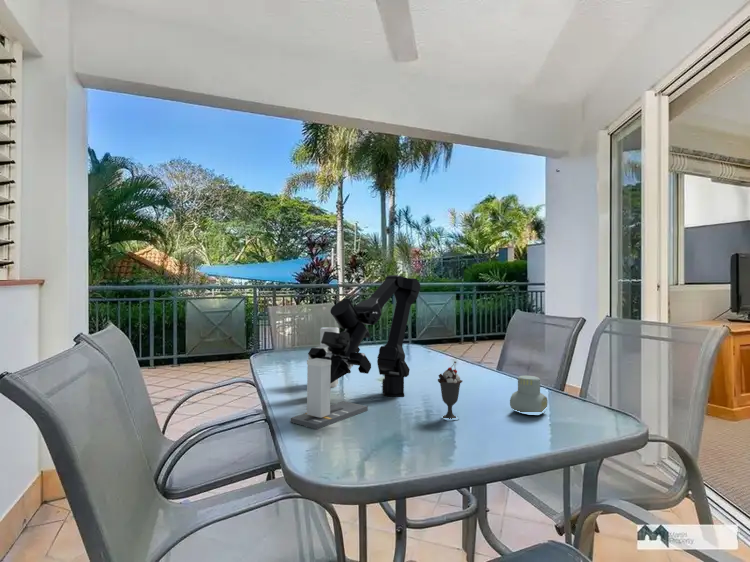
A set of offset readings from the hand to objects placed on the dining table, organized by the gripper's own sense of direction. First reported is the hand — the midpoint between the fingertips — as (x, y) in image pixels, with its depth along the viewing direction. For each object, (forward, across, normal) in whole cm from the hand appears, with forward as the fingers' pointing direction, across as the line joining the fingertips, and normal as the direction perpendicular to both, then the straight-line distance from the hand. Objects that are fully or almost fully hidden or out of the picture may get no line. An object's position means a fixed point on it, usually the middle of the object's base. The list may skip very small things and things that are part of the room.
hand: (324, 385), depth 116 cm
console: (+4, 0, +8) cm, 9 cm away
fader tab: (+6, 0, +4) cm, 7 cm away
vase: (-15, -26, +28) cm, 41 cm away
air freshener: (-21, +42, +34) cm, 58 cm away
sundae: (-8, +26, +21) cm, 35 cm away
